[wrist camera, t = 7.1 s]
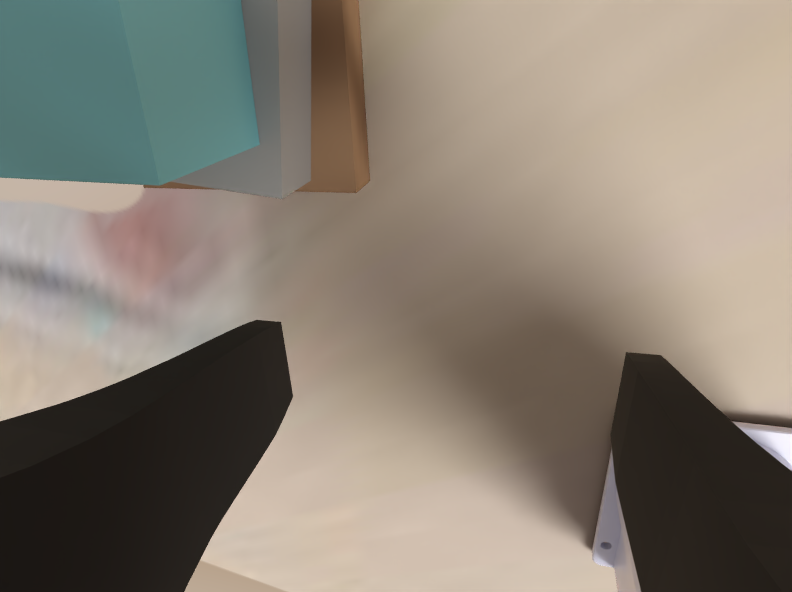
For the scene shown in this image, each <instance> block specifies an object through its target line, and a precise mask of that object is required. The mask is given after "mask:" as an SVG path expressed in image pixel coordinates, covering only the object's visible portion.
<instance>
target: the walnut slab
mask: <svg viewBox="0 0 792 592" xmlns="http://www.w3.org/2000/svg"><path fill="white" fill-rule="evenodd" d="M369 181H370V173H369V158H368V142H367V126H366V111H365V95H364V79H363V63H362V48H361V32H360V16H359V1H358V0H311V181H310V182H308V183H306V184H305V185H303V186H302V187H300V188H299V189H297V190H296V191H303V192H344V193H357V192H358V191H359V190H360V189H361V188H362V187H363V186H365V185H366V184H367V183H368V182H369ZM144 188H181V189H214V188H208V187H201V186H195V185H189V184H182V183H176V182H167V183H165V184H163V185H160V186H158V185H144Z"/></svg>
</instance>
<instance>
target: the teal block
mask: <svg viewBox="0 0 792 592" xmlns="http://www.w3.org/2000/svg"><path fill="white" fill-rule="evenodd" d="M258 145H260V142H259V135H258V127H257V119H256V112H255V104H254V96H253V89H252V81H251V74H250V66H249V58H248V51H247V43H246V35H245V28H244V20H243V13H242V5H241V0H0V177H2V178H20V179H40V180H60V181H79V182H100V183H119V184H139V185H158V186H160V185H163V184H165V183H167V182H170V181H172V180H175V179H177V178H180V177H182V176H185V175H187V174H190V173H192V172H194V171H197V170H199V169H202V168H204V167H207V166H209V165H212V164H214V163H216V162H219V161H221V160H224V159H226V158H229V157H231V156H234V155H236V154H238V153H241V152H243V151H246V150H248V149H251V148H253V147H256V146H258Z"/></svg>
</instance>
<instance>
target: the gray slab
mask: <svg viewBox="0 0 792 592" xmlns="http://www.w3.org/2000/svg"><path fill="white" fill-rule="evenodd" d="M241 5H242V13H243V20H244V28H245V35H246V43H247V51H248V58H249V66H250V74H251V81H252V89H253V96H254V104H255V112H256V119H257V127H258V135H259V142H260V145H258V146H256V147H253V148H251V149H248V150H246V151H243V152H241V153H238V154H236V155H234V156H231V157H229V158H226V159H224V160H221V161H219V162H216V163H214V164H212V165H209V166H207V167H204V168H202V169H199V170H197V171H194V172H192V173H190V174H187V175H185V176H182V177H180V178H177V179H175V180H172V181H170V182H176V183H182V184H189V185H195V186H201V187H208V188H214V189H220V190H227V191H233V192H240V193H246V194H252V195H259V196H265V197H271V198H278V199H283V198H285V197H286V196H288V195H289V194H291V193H292V192H294V191H296V190H297V189H299V188H300V187H302V186H303V185H305V184H306V183H308V182H310V181H311V0H241Z"/></svg>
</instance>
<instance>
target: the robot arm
mask: <svg viewBox="0 0 792 592" xmlns="http://www.w3.org/2000/svg"><path fill="white" fill-rule="evenodd" d="M292 397H293V394H292V387H291V381H290V375H289V369H288V362H287V356H286V350H285V344H284V338H283V331H282V325H281V322H274V321H262V320H255V321H252V322H249V323H247V324H244V325H242V326H239V327H237V328H235V329H233V330H230V331H228V332H226V333H224V334H222V335H220V336H218V337H216V338H214V339H212V340H210V341H207V342H205V343H203V344H201V345H199V346H197V347H195V348H193V349H191V350H189V351H187V352H185V353H183V354H181V355H178V356H176V357H174V358H172V359H170V360H168V361H165V362H163V363H161V364H159V365H157V366H154V367H152V368H150V369H148V370H145V371H143V372H141V373H139V374H136V375H134V376H132V377H130V378H127V379H125V380H123V381H120V382H118V383H115V384H113V385H110V386H108V387H105V388H102V389H100V390H97V391H94V392H92V393H89V394H86V395H83V396H81V397H78V398H75V399H72V400H69V401H66V402H63V403H60V404H57V405H54V406H51V407H47V408H44V409H41V410H37V411H34V412H31V413H27V414H24V415H21V416H17V417H14V418H11V419H7V420H4V421H0V592H184V591H185V589H186V586H187V585H188V582H189V580H190V578H191V576H192V575H193V573H194V571H195V568H196V567H197V565H198V563H199V561H200V559H201V557H202V555H203V553H204V551H205V549H206V547H207V545H208V543H209V541H210V539H211V537H212V535H213V534H214V532H215V530H216V529H217V527H218V525H219V523H220V522H221V520H222V518H223V517H224V515H225V514H226V512H227V511H228V509H229V507H230V506H231V504H232V503H233V501H234V500H235V498H236V497H237V495H238V493H239V492H240V490H241V489H242V487H243V486H244V484H245V483H246V481H247V479H248V478H249V476H250V475H251V473H252V472H253V470H254V469H255V467H256V465H257V464H258V462H259V461H260V459H261V458H262V456H263V454H264V453H265V451H266V450H267V448H268V446H269V445H270V443H271V442H272V440H273V438H274V437H275V435H276V433H277V431H278V429H279V427H280V425H281V423H282V420H283V418H284V416H285V414H286V411H287V409H288V407H289V404H290V402H291V400H292ZM611 444H612V449H611V454H610V459H609V465H608V470H607V475H606V480H605V485H604V491H603V496H602V501H601V506H600V512H599V517H598V522H597V527H596V533H595V538H594V543H593V548H592V557H593V560H594V562H595V563H597V564H599V565H602V566H607V567H613V568H614V569H615V576H616V583H617V589H618V592H792V428H787V427H778V426H769V425H760V424H751V423H742V422H733V421H731V420H730V419H728V418H727V417H726V416H725V415H724V414H723V413H722V412H721V411H720V410H718V409H717V408H716V407H715V406H714V405H713V404H712V403H711V402H710V401H709V400H708V399H707V398H706V397H704V396H703V395H702V394H701V393H700V392H699V391H698V390H697V389H696V388H695V387H694V386H693V385H692V384H691V383H690V382H689V381H688V380H687V379H686V378H685V377H684V376H683V375H681V374H680V373H679V372H678V371H677V370H676V369H675V368H674V367H673V366H672V365H671V364H670V363H669V362H668V361H667V360H666V359H664V358H663V357H662V356H661V355H650V354H639V353H628V352H626V356H625V362H624V367H623V372H622V378H621V383H620V388H619V394H618V399H617V404H616V410H615V415H614V420H613V426H612V431H611ZM604 542H607V543H604Z"/></svg>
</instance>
